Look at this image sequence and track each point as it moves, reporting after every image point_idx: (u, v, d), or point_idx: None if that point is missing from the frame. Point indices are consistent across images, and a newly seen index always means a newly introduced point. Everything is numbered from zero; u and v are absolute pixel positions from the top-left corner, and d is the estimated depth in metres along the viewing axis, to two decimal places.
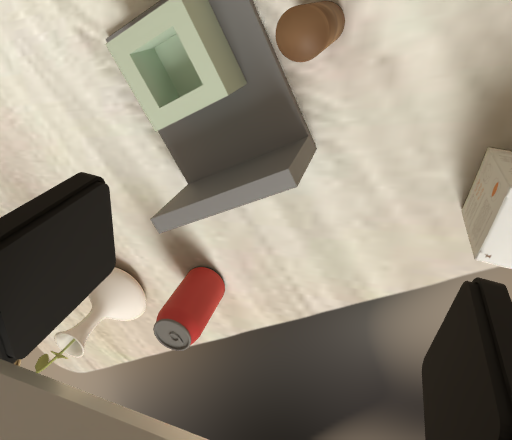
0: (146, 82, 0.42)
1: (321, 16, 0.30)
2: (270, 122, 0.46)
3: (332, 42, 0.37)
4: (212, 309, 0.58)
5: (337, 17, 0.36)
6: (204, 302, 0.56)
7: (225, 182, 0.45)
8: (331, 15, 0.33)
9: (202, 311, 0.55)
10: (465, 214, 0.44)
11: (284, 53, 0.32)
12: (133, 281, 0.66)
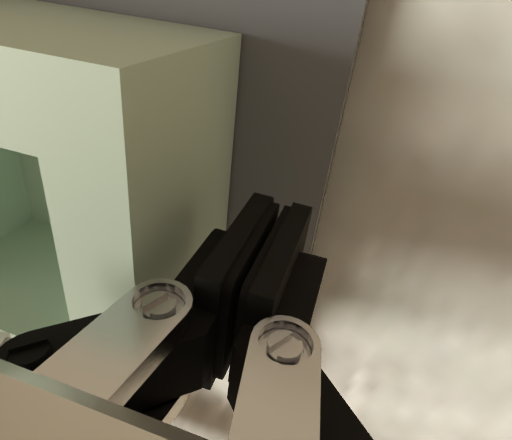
0: None
1: None
2: None
3: None
4: None
5: None
6: None
7: None
8: None
9: None
10: None
11: None
12: None
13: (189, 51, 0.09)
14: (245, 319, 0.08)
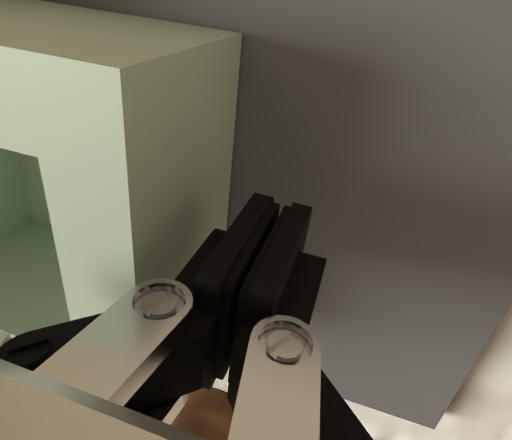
0: None
1: None
2: None
3: None
4: None
5: None
6: None
7: None
8: None
9: None
10: None
11: None
12: None
13: (190, 51, 0.09)
14: (245, 319, 0.08)
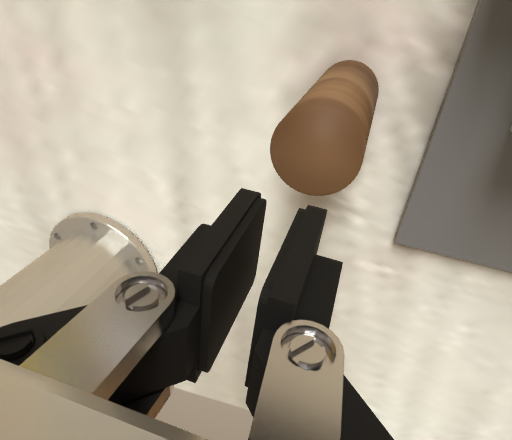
0: None
1: (271, 152, 0.18)
2: None
3: (332, 73, 0.22)
4: None
5: None
6: None
7: None
8: None
9: None
10: None
11: (360, 146, 0.16)
12: None
13: None
14: (264, 323, 0.08)
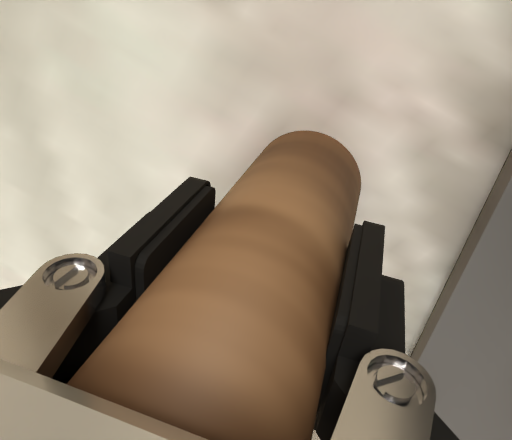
0: None
1: None
2: None
3: (258, 181, 0.10)
4: None
5: None
6: None
7: None
8: None
9: None
10: None
11: None
12: None
13: None
14: (340, 351, 0.07)
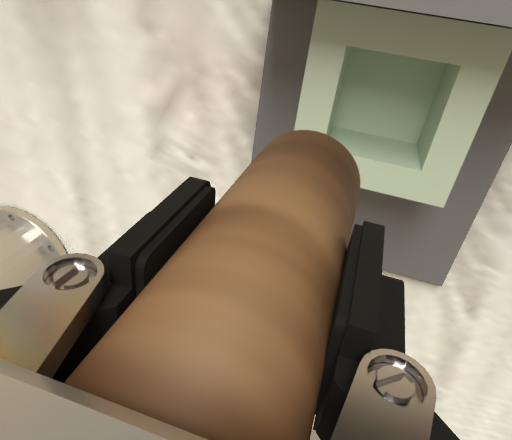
0: (440, 118, 0.22)
1: None
2: None
3: (256, 180, 0.10)
4: None
5: None
6: None
7: None
8: None
9: None
10: None
11: None
12: None
13: None
14: (340, 351, 0.07)
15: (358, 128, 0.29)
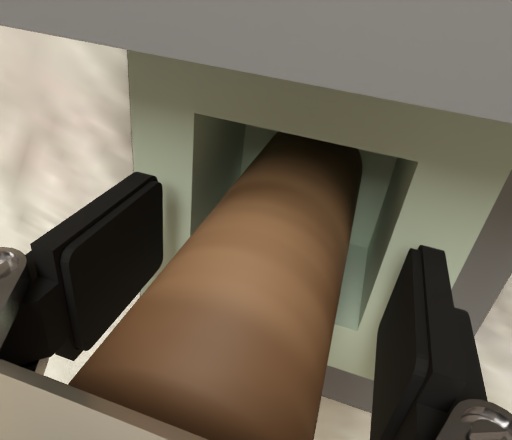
0: (385, 250, 0.12)
1: None
2: None
3: (271, 162, 0.12)
4: None
5: None
6: None
7: None
8: None
9: None
10: None
11: None
12: None
13: None
14: (419, 398, 0.07)
15: None
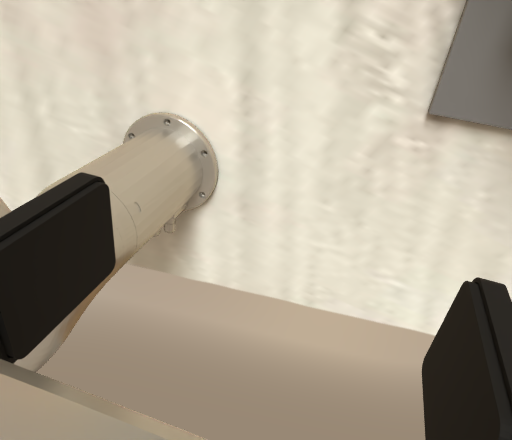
0: None
1: None
2: None
3: None
4: None
5: None
6: None
7: None
8: None
9: None
10: None
11: None
12: None
13: None
14: None
15: None
